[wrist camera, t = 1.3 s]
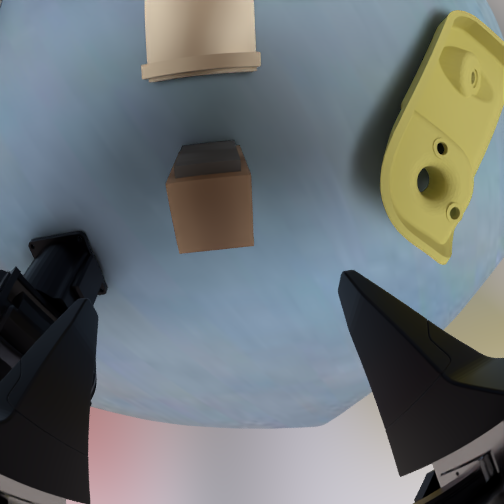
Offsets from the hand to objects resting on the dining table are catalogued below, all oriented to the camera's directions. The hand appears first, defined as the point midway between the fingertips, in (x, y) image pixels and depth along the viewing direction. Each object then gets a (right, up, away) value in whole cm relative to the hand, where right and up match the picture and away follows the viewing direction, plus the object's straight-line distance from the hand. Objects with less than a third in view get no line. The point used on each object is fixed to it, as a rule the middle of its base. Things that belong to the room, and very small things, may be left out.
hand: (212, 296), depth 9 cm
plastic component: (+17, +13, +8) cm, 23 cm away
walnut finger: (-1, +7, +9) cm, 12 cm away
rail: (-2, +19, 0) cm, 19 cm away
